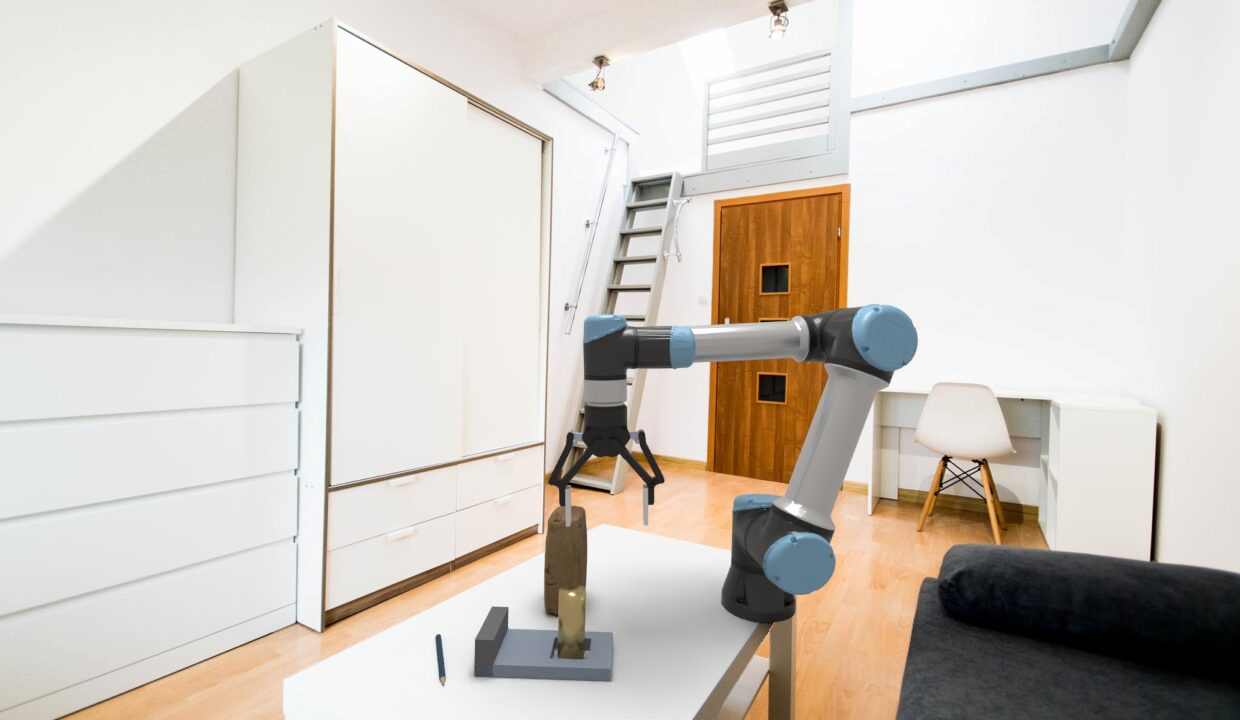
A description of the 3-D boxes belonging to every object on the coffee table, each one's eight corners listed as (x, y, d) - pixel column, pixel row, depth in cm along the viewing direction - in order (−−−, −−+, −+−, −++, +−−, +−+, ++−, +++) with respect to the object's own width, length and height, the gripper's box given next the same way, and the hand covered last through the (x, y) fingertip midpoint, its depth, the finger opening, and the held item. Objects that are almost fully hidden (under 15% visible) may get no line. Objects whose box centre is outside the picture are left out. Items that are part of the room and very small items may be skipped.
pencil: (441, 638, 99) (446, 687, 85) (435, 639, 99) (439, 689, 85) (441, 633, 99) (446, 682, 85) (435, 634, 99) (440, 683, 85)
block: (577, 620, 106) (579, 518, 105) (540, 616, 107) (542, 515, 107) (589, 595, 117) (592, 502, 116) (556, 591, 118) (558, 500, 117)
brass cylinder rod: (585, 652, 95) (587, 584, 95) (583, 668, 91) (584, 597, 90) (559, 651, 95) (560, 584, 95) (555, 667, 91) (557, 596, 90)
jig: (612, 643, 98) (613, 610, 98) (611, 681, 87) (612, 644, 87) (491, 639, 99) (491, 606, 98) (474, 676, 88) (474, 639, 87)
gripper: (674, 400, 99) (675, 515, 100) (537, 402, 99) (539, 517, 100) (679, 405, 92) (680, 529, 93) (531, 407, 92) (533, 531, 92)
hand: (607, 523), depth 96 cm, fingers open, 13 cm apart
